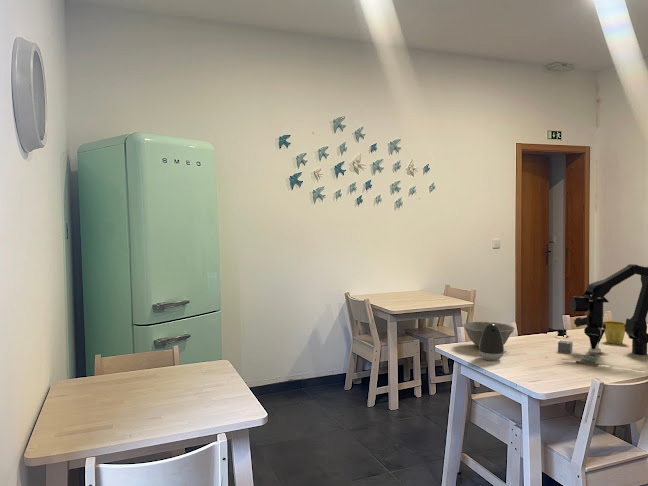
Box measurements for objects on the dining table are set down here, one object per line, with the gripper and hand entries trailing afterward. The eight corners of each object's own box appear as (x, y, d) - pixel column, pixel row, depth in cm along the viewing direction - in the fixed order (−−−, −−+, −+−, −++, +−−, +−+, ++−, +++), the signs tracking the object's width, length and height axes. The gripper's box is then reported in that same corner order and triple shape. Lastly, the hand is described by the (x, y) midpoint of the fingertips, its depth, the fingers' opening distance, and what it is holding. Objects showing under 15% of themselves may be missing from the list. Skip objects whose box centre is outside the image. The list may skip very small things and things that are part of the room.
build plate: (564, 341, 250) (564, 331, 250) (549, 338, 255) (549, 329, 255) (573, 337, 259) (573, 328, 259) (558, 335, 264) (558, 326, 264)
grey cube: (560, 351, 228) (560, 340, 227) (572, 352, 225) (572, 341, 224) (557, 353, 223) (558, 342, 223) (570, 355, 221) (570, 343, 220)
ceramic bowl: (454, 347, 233) (454, 326, 232) (476, 339, 250) (477, 319, 249) (500, 356, 218) (501, 333, 217) (521, 347, 234) (521, 326, 234)
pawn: (589, 350, 226) (587, 328, 226) (601, 350, 223) (599, 328, 223) (588, 352, 222) (586, 330, 222) (600, 353, 219) (598, 331, 219)
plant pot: (597, 340, 248) (597, 321, 248) (613, 339, 251) (613, 320, 251) (615, 345, 238) (615, 325, 238) (631, 344, 242) (632, 324, 241)
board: (586, 350, 228) (586, 349, 228) (606, 353, 223) (606, 352, 223) (575, 363, 207) (575, 361, 207) (597, 366, 202) (597, 364, 202)
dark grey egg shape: (482, 362, 208) (482, 326, 207) (475, 355, 218) (476, 321, 218) (507, 362, 207) (507, 326, 207) (499, 356, 218) (500, 321, 217)
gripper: (579, 307, 234) (578, 340, 234) (571, 313, 219) (571, 348, 219) (606, 310, 227) (605, 344, 228) (600, 315, 212) (599, 352, 213)
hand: (595, 347), depth 222 cm, fingers open, 9 cm apart
